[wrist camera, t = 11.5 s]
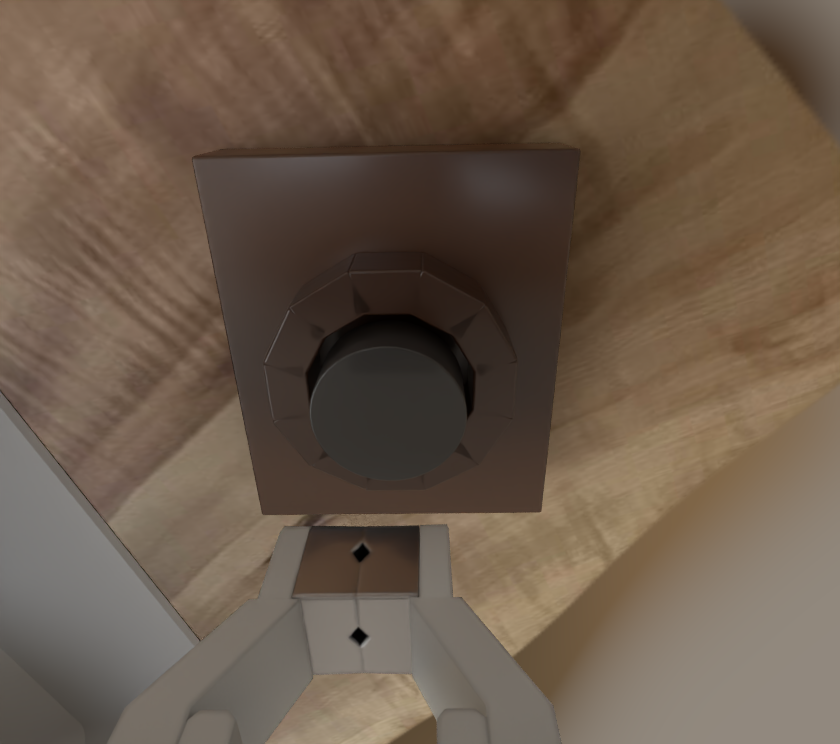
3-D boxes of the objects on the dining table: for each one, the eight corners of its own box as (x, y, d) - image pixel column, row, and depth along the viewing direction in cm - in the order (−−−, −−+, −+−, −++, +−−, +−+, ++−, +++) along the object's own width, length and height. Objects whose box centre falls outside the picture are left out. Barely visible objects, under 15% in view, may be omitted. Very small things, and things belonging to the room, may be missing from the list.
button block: (219, 148, 16) (158, 163, 12) (562, 142, 16) (603, 154, 12) (276, 477, 21) (246, 553, 18) (530, 474, 21) (552, 551, 17)
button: (313, 320, 14) (299, 347, 13) (464, 318, 14) (468, 345, 13) (327, 445, 16) (317, 482, 14) (461, 443, 16) (465, 481, 14)
